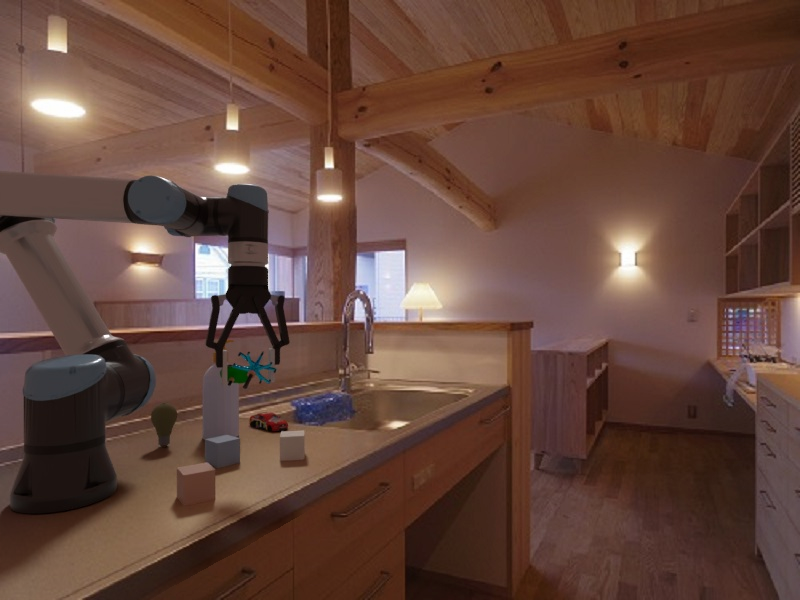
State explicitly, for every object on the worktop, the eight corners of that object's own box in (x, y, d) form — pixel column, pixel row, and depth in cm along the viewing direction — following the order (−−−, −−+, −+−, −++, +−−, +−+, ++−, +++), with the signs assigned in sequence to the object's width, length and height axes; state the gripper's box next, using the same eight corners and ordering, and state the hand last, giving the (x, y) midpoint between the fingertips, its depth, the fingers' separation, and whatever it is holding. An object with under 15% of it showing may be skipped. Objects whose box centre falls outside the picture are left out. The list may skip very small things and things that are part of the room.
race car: (291, 430, 135) (291, 415, 135) (273, 434, 131) (273, 418, 131) (264, 423, 144) (264, 408, 144) (246, 426, 140) (246, 411, 140)
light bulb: (177, 448, 117) (176, 404, 118) (149, 451, 115) (149, 406, 115) (177, 442, 123) (177, 400, 123) (151, 445, 120) (151, 402, 121)
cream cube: (279, 461, 107) (279, 437, 107) (281, 454, 112) (281, 431, 112) (304, 459, 108) (304, 435, 108) (304, 453, 113) (304, 430, 113)
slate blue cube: (217, 468, 103) (217, 443, 103) (204, 463, 106) (204, 439, 106) (240, 462, 106) (240, 438, 106) (227, 458, 110) (226, 434, 110)
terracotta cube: (183, 506, 83) (183, 475, 83) (176, 497, 87) (176, 467, 87) (215, 499, 86) (215, 469, 86) (207, 491, 90) (207, 462, 90)
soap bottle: (247, 433, 131) (247, 339, 132) (225, 442, 122) (225, 341, 123) (218, 431, 134) (218, 339, 134) (194, 440, 125) (194, 341, 125)
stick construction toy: (285, 371, 101) (264, 342, 97) (274, 397, 95) (251, 366, 91) (235, 386, 104) (212, 358, 101) (222, 411, 99) (197, 383, 95)
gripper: (191, 262, 92) (190, 389, 92) (306, 266, 101) (306, 382, 101) (189, 265, 99) (189, 384, 99) (297, 268, 108) (297, 377, 108)
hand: (248, 383), depth 100 cm, fingers closed on stick construction toy, 8 cm apart
